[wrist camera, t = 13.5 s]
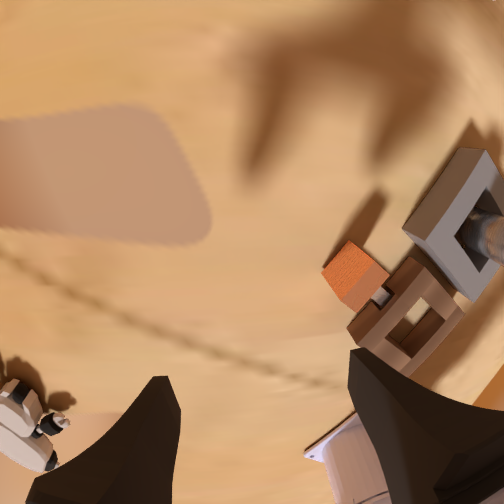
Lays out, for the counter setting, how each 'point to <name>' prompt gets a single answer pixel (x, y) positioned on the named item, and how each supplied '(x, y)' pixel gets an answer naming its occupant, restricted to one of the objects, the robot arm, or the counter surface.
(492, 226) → the rounded metal peg
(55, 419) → the robot toy
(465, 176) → the block
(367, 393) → the robot arm
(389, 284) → the socket block
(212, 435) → the counter surface
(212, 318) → the counter surface
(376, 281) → the pin
